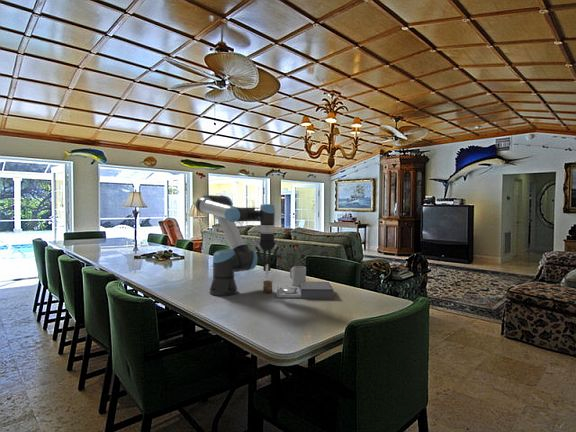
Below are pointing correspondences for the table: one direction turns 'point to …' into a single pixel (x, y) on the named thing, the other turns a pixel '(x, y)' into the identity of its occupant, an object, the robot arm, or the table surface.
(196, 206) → the robot arm
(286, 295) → the tray
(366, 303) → the table surface
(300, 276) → the mug
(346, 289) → the table surface
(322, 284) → the housing
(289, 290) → the disc
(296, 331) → the table surface
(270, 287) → the brown rounded cylinder
